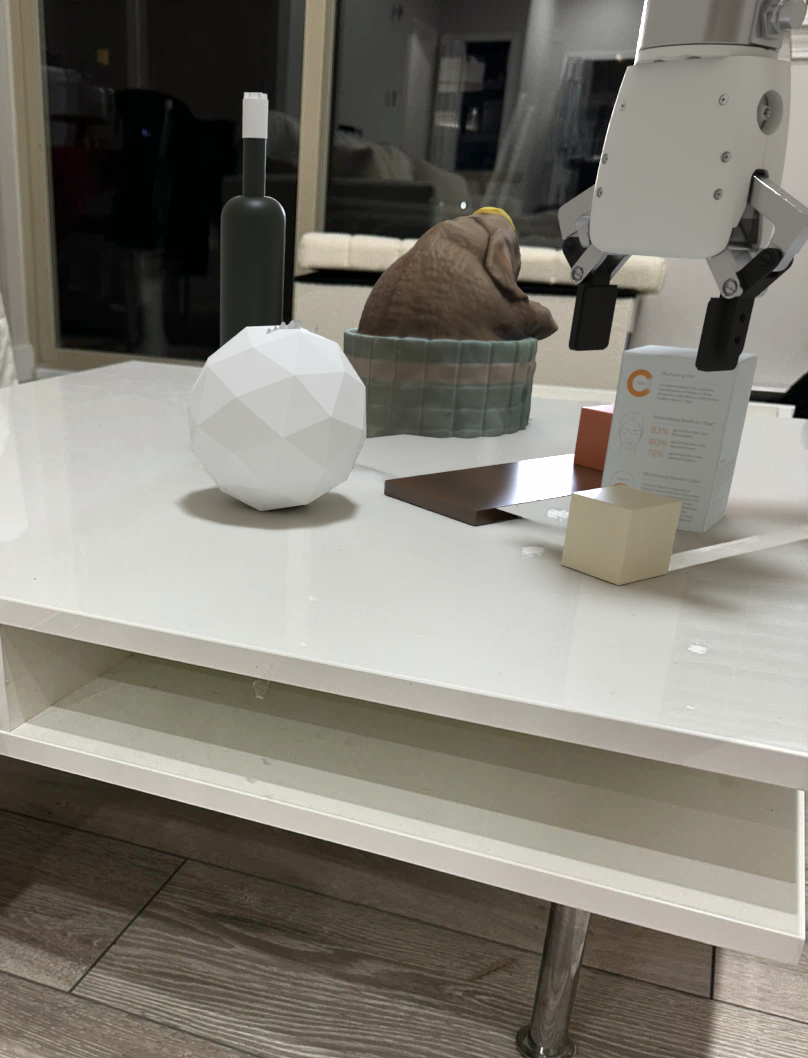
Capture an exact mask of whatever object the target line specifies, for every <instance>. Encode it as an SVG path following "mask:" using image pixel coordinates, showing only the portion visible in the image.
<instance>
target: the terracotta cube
mask: <svg viewBox="0 0 808 1058" xmlns="http://www.w3.org/2000/svg"><path fill="white" fill-rule="evenodd" d="M614 405H615V403H610V404H600V405H591V406H590V405H589V406H582V407H581V408H580V415H579V421H578V429H577V434H576V441H575V448H574V452H573V454H574V460H573V464H577V465H580V466H584V467H588V468H592V469H596V470H599V471H604V465H605V459H606V453H607V447H608V441H609V435H610V429H611V423H612V417H613V411H614Z"/></svg>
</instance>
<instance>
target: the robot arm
mask: <svg viewBox="0 0 808 1058" xmlns="http://www.w3.org/2000/svg"><path fill="white" fill-rule="evenodd" d="M642 10H643V11H642V16H641V22H640V27H639V34H638V40H637V45H636V53H635V57H634V64H633V65H628V66H627V67H626V70H625V72H624V76H623V78H622V81H621V85H620V87H619V90H618V94H617V97H616V99H615V103H614V106H613V110H612V113H611V115H610V119H609V123H608V127H607V131H606V135H605V139H604V143H603V147H602V150H601V151H602V152H601V157H600V159H599V160H600V161H599V166H598V169H597V175H596V178H595V179H596V180H595V184H592V186H590V187H588V188H587V189H585V190H584V191H582V192H581V193H579V194H578V195H576V196H574V197H573V198H571V199H570V200H569V201H566V202H565V203H563V204H562V205H561V206H560V207H559V209H558V211H557V219H558V225H559V229H560V234H561V239H562V240H561V241H563V242H562V247H561V251H562V254H563V255H564V257H565V259H566V261H567V263H568V265H569V267H570V274H569V276H570V280H571V282H572V283H573V284H576V285H577V289H576V295H575V301H574V308H573V314H572V319H571V326H570V333H569V339H568V349H569V350H570V351H573V352H574V351H575V352H586V351H589V352H591V351H604V350H606V349H607V348H608V346H609V344H610V339H611V334H612V328H613V327H612V326H613V321H614V317H615V316H614V315H615V310H616V304H617V299H618V293H619V289H618V286H619V285H618V284H614V283H611V281H612V280H613V278H614V277H615V276H616V275H617V274H618V272H619V271H620V270H621V269H622V267H624V265H625V264H626V263H627V261H628V260H629V259H630V258H631V257H632V256H643V257H654V258H655V257H658V258H669V259H670V258H671V259H672V258H673V259H688V260H702V259H703V260H704V259H705V261H706V263H707V266H708V268H709V270H710V273H711V275H712V277H713V279H714V282H715V284H716V286H717V288H718V290H719V292H720V293H719V296H717V297H716V296H715V297H712V296H711V297H710V299H709V301H708V303H707V305H706V310H705V315H704V319H703V324H702V329H701V334H700V338H699V344H698V348H697V349H698V352H697V357H696V362H695V367H696V368H697V370H698V371H704V372H714V371H729V370H734V369H735V368H736V366H737V364H738V359H739V356H740V355H741V353H743V351H744V349H745V345H746V340H747V335H748V331H749V327H750V322H751V318H752V314H753V309H754V305H755V300H757V299H761V298H763V297H764V296H765V295H766V293H767V292H768V290H769V287H770V286H771V285H772V284H773V283H774V282H776V281H777V280H778V279H779V278H780V277H781V276H782V275H784V274H785V273H786V272H787V271H788V270H790V268H791V267H792V266H793V265H794V260H795V256H796V255H797V254H799V252H800V251H801V249H802V248H803V247H804V246H805V244H806V243H807V241H808V207H807V205H805V204H804V203H802V202H801V201H800V200H798V199H797V198H796V197H794V196H793V195H792V194H790V193H789V192H788V191H787V190H785V189H783V188H782V182H783V176H784V169H785V162H786V156H787V148H788V147H787V146H788V137H789V129H790V116H791V101H792V99H791V97H792V96H791V95H792V66H791V65H792V62H791V61H789V60H785V59H780V58H779V53H780V50H781V49H782V47H783V43H784V37H785V34H786V33H787V32H788V31H794V30H798V29H800V28H801V26H803V24H804V21H805V19H806V15H807V6H806V2H805V0H644V3H643V9H642ZM773 229H774V233H773ZM772 233H773V234H772ZM771 236H772V237H771Z"/></svg>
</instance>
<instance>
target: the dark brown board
mask: <svg viewBox="0 0 808 1058" xmlns="http://www.w3.org/2000/svg"><path fill="white" fill-rule="evenodd" d="M573 460H574V453H570V454H563V455H555V456H548V457H541V458H533V459H527V460H518V461H512V462H504V463H499V464H491V465H483V466H477V467H476V466H475V467H469V468H462V469H455V470H448V471H447V470H446V471H439V472H433V473H425V474H418V475H412V476H411V475H410V476H404V477H403V476H402V477H397V478H392V479H391V478H389V479H385V480H384V489H383V494H384V495H386V496H389V497H392V498H395V499H398V500H400V501H404V502H406V503H409V504H412V505H415V506H418V507H420V508H423V509H426V510H429V511H432V512H435V513H437V514H440V515H443V516H446V517H449V518H452V519H454V520H457V521H460V522H463V523H466V524H469V525H472V526H483V525H487V524H493V523H498V522H504V521H509V520H514V519H515V518H516V519H520V518H522V516H521V515H517V514H515V513H512V512H508V511H506V510H503V509H500V508H504V507H505V508H506V507H510V506H516V505H522V504H528V503H534V502H540V501H546V500H551V499H557V498H564V497H570V496H571V497H572V493H574V492H580V491H586V490H592V489H599V488H601V483H602V477H603V471H599V470H596V469H592V468H588V467H584V466H580V465H577V464H573Z"/></svg>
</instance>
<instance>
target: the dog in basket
mask: <svg viewBox="0 0 808 1058" xmlns="http://www.w3.org/2000/svg"><path fill="white" fill-rule="evenodd" d="M519 242H520V239H519V237H518V235H517V234H516V227H515V225H514V222H513V220H512V218H511V217H510V215H509V214H508V213H506V211H505V210H504V209H502V208H500V207H495V206H483V207H482V208H479V209H477V210H476V211H474V212H473V213H472V214H470V215H465V216H458V217H456V218H453V219H446V220H444V221H441V222H438V223H436V224H435V225H434V226H432V227H430V228H429V229H428V230H426V231H425V233H423V234H422V235H421V236H420V237H419V238H418V240H417V241H415V243H414V244H413V246H411V248H409V250H408V251H406V252H405V253H404V254H402V255H400V256H399V257H398V258H396V259H395V261H394V262H393V263H391V264H390V265H389V266H388V267H387V268H386V269H385V270H384V271H382V274H381V275H380V276H379V278H378V279H377V281H376V282H375V284H373V287H372V289H371V291H370V292H369V294H368V296H367V299H366V301H365V303H364V306H363V310H362V311H361V314H360V319H359V321H358V327H352V328H348V329H346V330H345V331H344V332H343V344H342V345H343V350H342V351H343V352H344V354H345V356H346V357H347V359H348V360H349V362H350V363H351V365H352V367H353V368H354V370H355V371H356V373H357V374H358V376H359V377H360V379H361V381H362V382H363V384H364V385H365V387H366V439H375V438H383V437H384V438H385V437H392V436H402V435H407V436H417V437H418V436H419V437H427V438H434V439H435V438H436V439H449V438H456V439H464V440H465V439H466V440H467V439H477V438H495V437H496V438H497V437H500V436H503V435H513V434H516V433H518V432H519V431H525V430H526V427H527V426H529V421H530V415H531V408H532V407H531V406H532V395H533V388H534V387H533V386H534V379H535V378H534V377H535V373H536V370H537V361H536V357H537V353H538V348H539V347H538V342H539V341H543V340H545V339H547V338H550V337H551V336H552V335H554V334H555V333H556V332H558V330H559V325H558V323H557V321H556V319H554V317H553V315H552V312H551V310H550V309H549V308H547V307H546V306H545V305H542V303H541V302H539V301H535V300H531V299H530V298H529V296H528V294H527V293H525V292H523V290H522V289H521V288H520V287H519V286H518V284H517V280H518V278H519V276H520V271H521V269H522V260H521V259H522V255H521V249H520V248H521V247H520V243H519Z"/></svg>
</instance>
